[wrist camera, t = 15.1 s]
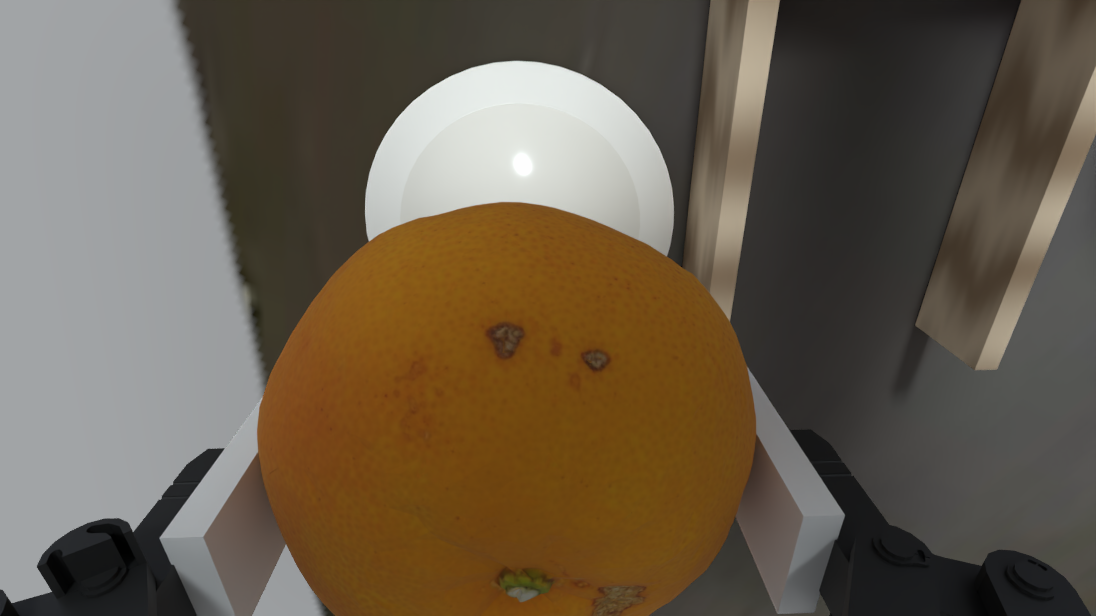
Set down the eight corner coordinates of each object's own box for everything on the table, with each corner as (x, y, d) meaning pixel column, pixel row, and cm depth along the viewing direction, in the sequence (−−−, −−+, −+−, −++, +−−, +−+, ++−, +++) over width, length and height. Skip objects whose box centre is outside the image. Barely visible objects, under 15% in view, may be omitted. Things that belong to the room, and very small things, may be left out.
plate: (347, 62, 26) (338, 63, 25) (682, 58, 26) (690, 59, 25) (393, 352, 33) (387, 364, 32) (656, 345, 34) (661, 357, 32)
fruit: (565, 522, 19) (586, 807, 12) (278, 388, 17) (88, 659, 9) (772, 299, 16) (977, 520, 9) (450, 77, 13) (351, 133, 6)
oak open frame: (727, -160, 23) (789, -219, 17) (1101, -160, 23) (1273, -219, 18) (675, 331, 33) (704, 388, 28) (934, 324, 34) (1011, 380, 28)
